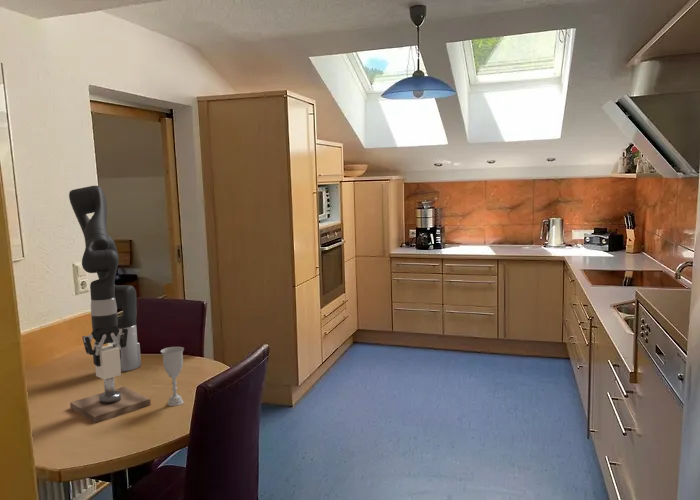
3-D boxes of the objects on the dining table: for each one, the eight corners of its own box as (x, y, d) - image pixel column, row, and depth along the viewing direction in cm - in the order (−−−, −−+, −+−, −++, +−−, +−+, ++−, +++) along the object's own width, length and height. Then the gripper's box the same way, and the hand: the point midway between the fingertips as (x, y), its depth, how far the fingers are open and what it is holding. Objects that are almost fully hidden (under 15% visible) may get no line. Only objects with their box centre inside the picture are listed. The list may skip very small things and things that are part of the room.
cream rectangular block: (113, 371, 178) (111, 344, 177) (121, 374, 175) (119, 347, 174) (96, 375, 174) (94, 348, 173) (103, 379, 171) (101, 351, 170)
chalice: (165, 408, 173) (162, 354, 171) (162, 401, 179) (159, 348, 177) (188, 404, 176) (185, 350, 174) (184, 397, 182) (182, 345, 180)
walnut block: (124, 392, 188) (124, 386, 188) (150, 404, 176) (150, 398, 176) (70, 408, 175) (70, 402, 175) (94, 423, 163) (94, 416, 163)
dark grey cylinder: (115, 395, 180) (113, 366, 179) (124, 400, 176) (122, 370, 175) (96, 401, 175) (93, 371, 174) (105, 406, 171) (102, 375, 170)
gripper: (120, 306, 180) (123, 356, 182) (75, 314, 169) (79, 366, 171) (131, 309, 175) (134, 360, 177) (86, 318, 164) (90, 371, 166)
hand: (107, 363), depth 174 cm, fingers closed on cream rectangular block, 5 cm apart
